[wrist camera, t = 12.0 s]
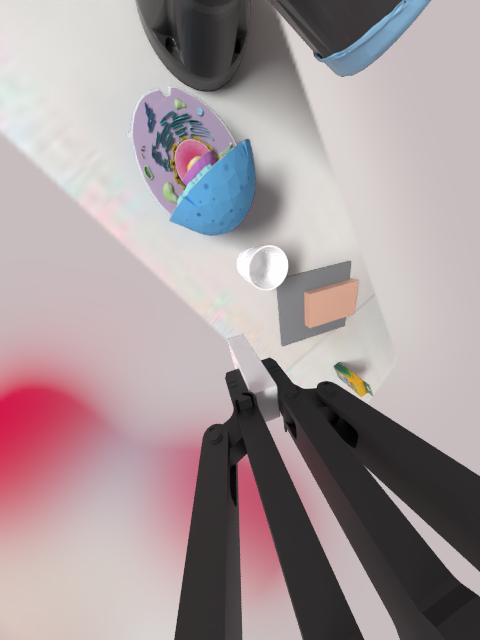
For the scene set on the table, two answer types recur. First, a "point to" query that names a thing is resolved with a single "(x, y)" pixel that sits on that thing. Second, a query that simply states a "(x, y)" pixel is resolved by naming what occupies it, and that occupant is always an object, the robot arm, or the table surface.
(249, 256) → the white cup
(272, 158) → the table surface
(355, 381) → the crayon box
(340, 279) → the mat
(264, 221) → the table surface
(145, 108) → the educational model
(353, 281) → the tile
